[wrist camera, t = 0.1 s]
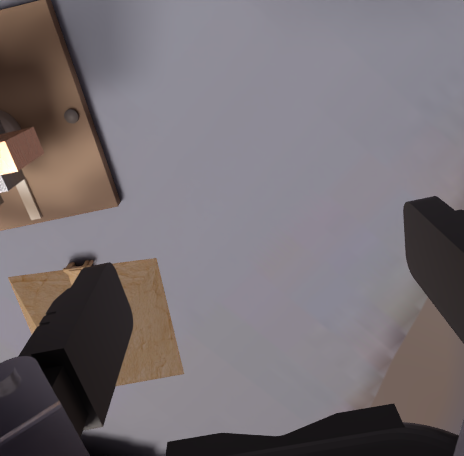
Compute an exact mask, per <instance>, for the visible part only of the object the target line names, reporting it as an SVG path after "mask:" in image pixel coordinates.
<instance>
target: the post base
mask: <svg viewBox="0 0 464 456" xmlns="http://www.w3.org/2000/svg"><path fill="white" fill-rule="evenodd" d="M0 121H1V123H2V126H3V128H4V130H5V132H6V133H8V132H13V131H17V130H21V129H26V128H30V127H34V129H35V131H36V134H37V136H38V139H39V141H40V144H41V146H42V149H43V151H44V154H43V155H41V156H40V157H38V158H37V159H35V160H34V161H32V162H31V163H29V164H28V165H27V166H25V167H24V168H22V171H23V174H24V176H25V179H24V180H23V181H21V182H20V183H19V184H17V185H16V186H14V187H13V188H12V189H10V190H9V191H6V192H2V193H0V195H1V197H2V199H3V201H4V203H2V204H1V205H0V231H2V230H6V229H11V228H16V227H21V226H26V225H30V224H35V223H40V222H45V221H50V220H54V219H59V218H64V217H69V216H74V215H79V214H83V213H88V212H93V211H98V210H103V209H107V208H112V207H117V206H118V205H119V204H120V202H121V201H120V198H119V195H118V192H117V190H116V187H115V184H114V181H113V178H112V175H111V172H110V169H109V166H108V164H107V161H106V158H105V155H104V152H103V149H102V146H101V143H100V141H99V138H98V135H97V132H96V129H95V126H94V123H93V120H92V118H91V115H90V112H89V109H88V106H87V103H86V100H85V97H84V94H83V92H82V89H81V86H80V83H79V80H78V77H77V74H76V71H75V69H74V66H73V63H72V60H71V57H70V54H69V51H68V48H67V45H66V43H65V40H64V37H63V34H62V31H61V28H60V25H59V22H58V20H57V17H56V14H55V11H54V8H53V5H52V2H51V0H39V1H35V2H31V3H27V4H23V5H19V6H15V7H11V8H7V9H3V10H0Z"/></svg>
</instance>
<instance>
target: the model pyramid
mask: <svg viewBox="0 0 464 456" xmlns="http://www.w3.org/2000/svg"><path fill="white" fill-rule="evenodd" d="M93 262H94V261H93V260H90V261H89V260H88V261H87V260H85V262H84V264H83V265H82V266H78V267H77V266H75V263H74V262H71V263H70V264H68V265H67V267H66V268H64V269H63V270H60V271H53V272H45V273H37V274H29V275H22V276H14V277H8V278H9V281H10V283H11V286H12V288H13V290H14V293H15V295H16V298H17V300H18V302H19V305H20V307H21V309H22V312H23V314H24V317H25V319H26V321H27V324H28V326H29V329H30V331H31V333H32V334H33V332H34V331H35V329H36V328H37V327H38V326H39V323H40V321H41V320H42V318H43V317H44V316H46V312H47V310H48V309H49V307H50V306H51V304H52V302H53V301H54V300H55V299H56V298H57V297H58V296H60V295H61V294H62V293H63V292H64V291H65V290H66V289H68V288H71V286H72V285H73V283H74V281H75V280H76V278H77V276H78V275H79V273H80V271H81V270H82V269H83V268H85V267H90V266H91V265H92V264H93ZM113 266H114V267H115V269H116V271H117V274H118V276H119V279H120V281H121V284H122V286H123V289H124V292H125V294H126V297H127V299H128V302H129V304H130V307H131V310H132V314H133V331H132V334H131V337H130V340H129V344H128V347H127V350H126V353H125V357H124V360H123V363H122V366H121V370H120V373H119V376H118V379H117V383H116V386H119V385H125V384H130V383H136V382H142V381H147V380H153V379H158V378H164V377H169V376H175V375H180V374H184V371H183V367H182V363H181V359H180V355H179V351H178V346H177V342H176V338H175V334H174V330H173V326H172V321H171V317H170V313H169V309H168V305H167V301H166V296H165V292H164V288H163V284H162V280H161V276H160V272H159V267H158V263H157V259H156V258H154V259H146V260H138V261H130V262H123V263H115V264H113Z"/></svg>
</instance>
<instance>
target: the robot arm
mask: <svg viewBox="0 0 464 456" xmlns="http://www.w3.org/2000/svg"><path fill="white" fill-rule="evenodd" d="M403 215H404V233H405V250H406V260H407V264H408V267H409V270H410V272H411V274H412V276H413V278H414V279H415V280H416V282H417V283H418V284H419V286H420V287H421V288H422V290H423V291H424V292H425V294H426V295H427V296H428V297H429V299H430V300H431V301H432V303H433V304H434V305H435V307H436V308H437V309H438V311H439V312H440V313H441V315H442V316H443V317H444V318H445V320H446V321H447V322H448V324H449V325H450V326H451V328H452V329H453V330H454V331H455V333H456V334H457V335H458V337H459V338H460V339H461V341H462V342H463V343H464V210H456V211H455V210H454V209H452V208H451V207H450V206H448V205H447V204H446V203H445V202H443V201H442V200H441V199H440V198H438V197H437V196H433V197H428V198H423V199H418V200H414V201H409V202H406V203H405V204H404V209H403ZM132 331H133V314H132V310H131V307H130V304H129V302H128V299H127V297H126V294H125V292H124V289H123V286H122V284H121V281H120V279H119V276H118V274H117V271H116V269H115V267H114V266H113V264H112V263H104V264H100V265H95V266H90V267H85V268H83V269H82V270H81V271H80V273H79V275H78V276H77V278H76V280H75V281H74V283H73V285H72V286H71V288H68V289H66V290H65V291H64V292H63V293H62V294H61V295H60V296H58V297H57V298H56V299H55V300H54V301H53V302H52V304H51V306H50V307H49V309H48V310H47V312H46V316H44V317H43V318H42V320H41V321H40V323H39V326H38V327H37V328H36V329H35V331H34V332H33V334H32V336H31V337H30V339H29V340H28V342H27V343H26V345H25V347H24V348H23V350H22V351H21V353H20V355H19V356H18V357H15V358H12V359H9V360H6V361H4V362H2V363H0V456H90V455H89V453H88V451H87V450H86V448H85V446H84V444H83V442H82V441H81V439H80V437H81V434H82V431H83V430H89V429H94V428H100V427H103V425H104V422H105V418H106V415H107V412H108V409H109V405H110V402H111V399H112V396H113V392H114V389H115V386H116V383H117V379H118V376H119V373H120V370H121V366H122V363H123V360H124V357H125V353H126V350H127V347H128V344H129V340H130V337H131V334H132ZM166 456H464V420H463V423H462V427H461V430H460V434H459V435H456V434H453V433H451V432H448V431H445V430H442V429H438V428H435V427H431V426H427V425H421V424H415V423H404V422H402V420H401V418H400V416H399V413H398V411H397V409H396V407H395V405H394V404H389V405H383V406H377V407H371V408H365V409H359V410H353V411H347V412H341V413H336V414H334V415H331V416H329V417H327V418H324V419H322V420H319V421H317V422H315V423H312V424H310V425H307V426H305V427H302V428H300V429H298V430H295V431H293V432H290V433H288V434H285V435H282V436H262V435H246V434H231V433H218V434H212V435H206V436H200V437H194V438H188V439H182V440H176V441H170V442H167V449H166Z"/></svg>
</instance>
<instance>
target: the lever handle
mask: <svg viewBox="0 0 464 456" xmlns="http://www.w3.org/2000/svg"><path fill="white" fill-rule="evenodd" d="M43 154H44V151H43V149H42V146H41V144H40V141H39V139H38V136H37V134H36V131H35V129H34V127H30V128H26V129H21V130H17V131H13V132H8V133H6V132H5V130H4V128H3V126H2V123H1V121H0V193H2V192H6V191H9V190H10V189H12V188H13V187H14V186H16V185H17V184H19V183H20V182H21V181H23V180H24V179H25V176H24V174H23V171H22V168H24V167H25V166H27V165H28V164H29V163H31V162H32V161H34V160H35V159H37V158H38V157H40V156H41V155H43ZM2 203H4V201H3V199H2V197H1V195H0V205H1V204H2Z"/></svg>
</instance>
